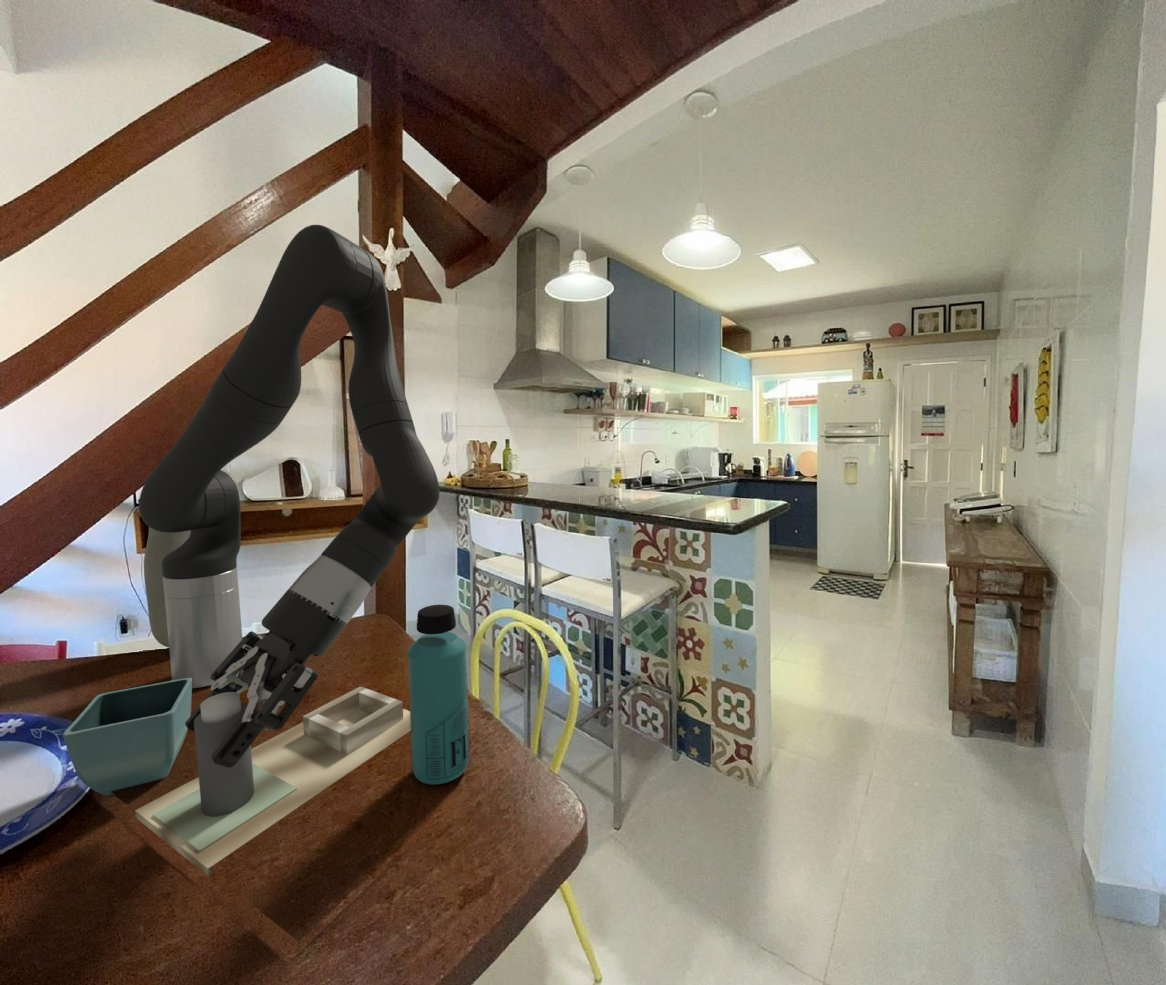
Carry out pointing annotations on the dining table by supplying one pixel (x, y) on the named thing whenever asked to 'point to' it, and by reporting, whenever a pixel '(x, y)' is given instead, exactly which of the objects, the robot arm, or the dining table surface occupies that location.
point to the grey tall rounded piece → (159, 578)
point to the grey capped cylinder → (217, 782)
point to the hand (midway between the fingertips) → (206, 746)
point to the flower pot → (130, 735)
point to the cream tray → (281, 776)
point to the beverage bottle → (438, 698)
